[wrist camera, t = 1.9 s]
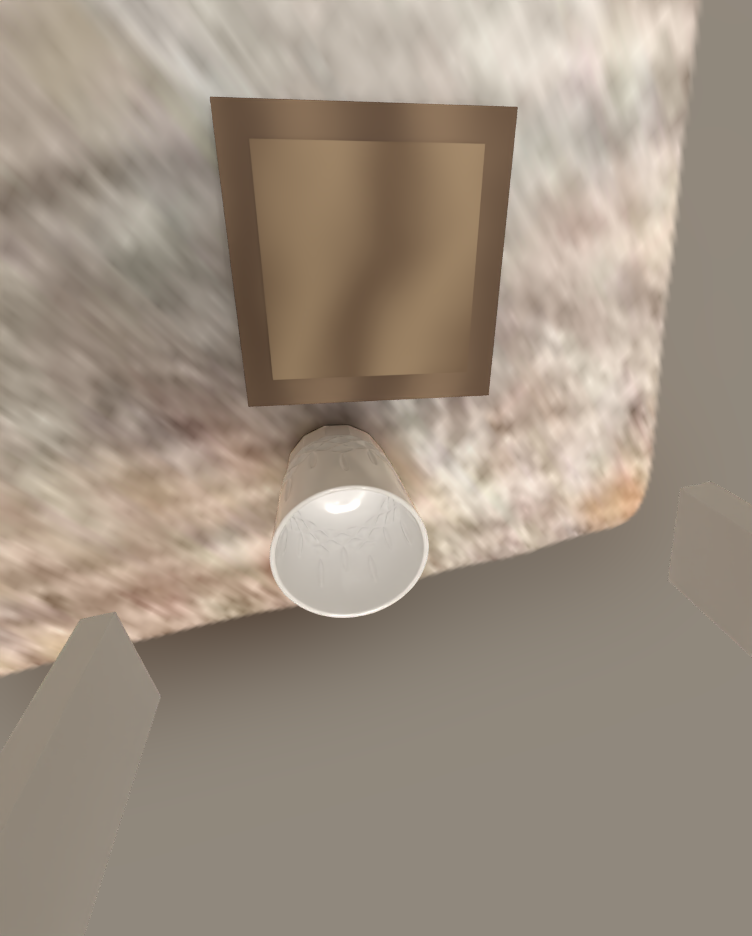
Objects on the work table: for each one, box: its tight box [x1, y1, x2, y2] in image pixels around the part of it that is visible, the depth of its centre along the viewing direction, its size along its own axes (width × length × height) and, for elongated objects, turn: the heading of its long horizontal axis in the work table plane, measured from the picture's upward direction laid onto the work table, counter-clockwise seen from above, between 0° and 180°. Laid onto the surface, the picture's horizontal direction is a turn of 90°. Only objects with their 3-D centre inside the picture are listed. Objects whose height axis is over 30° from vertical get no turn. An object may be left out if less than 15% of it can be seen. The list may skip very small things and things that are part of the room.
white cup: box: [270, 425, 429, 618], centre depth 28 cm, size 8×8×10 cm
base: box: [210, 97, 518, 407], centre depth 26 cm, size 14×14×3 cm
